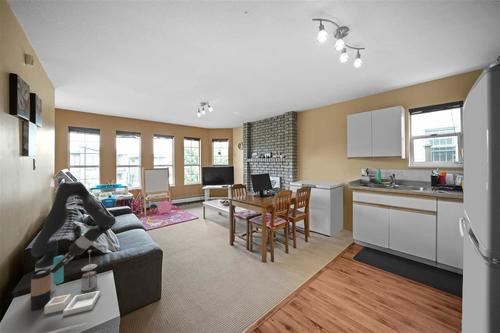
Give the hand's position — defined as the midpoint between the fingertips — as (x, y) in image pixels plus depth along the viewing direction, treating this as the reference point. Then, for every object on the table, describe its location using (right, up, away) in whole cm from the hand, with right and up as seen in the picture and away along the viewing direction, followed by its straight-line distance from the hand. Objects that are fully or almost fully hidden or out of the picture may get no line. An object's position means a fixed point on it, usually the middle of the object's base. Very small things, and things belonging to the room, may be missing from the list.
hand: (53, 270), depth 107 cm
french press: (+4, -22, +18) cm, 29 cm away
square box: (+2, -22, 0) cm, 22 cm away
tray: (+14, -21, +2) cm, 26 cm away
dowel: (+2, -7, +1) cm, 7 cm away
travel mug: (-9, -22, +2) cm, 24 cm away
